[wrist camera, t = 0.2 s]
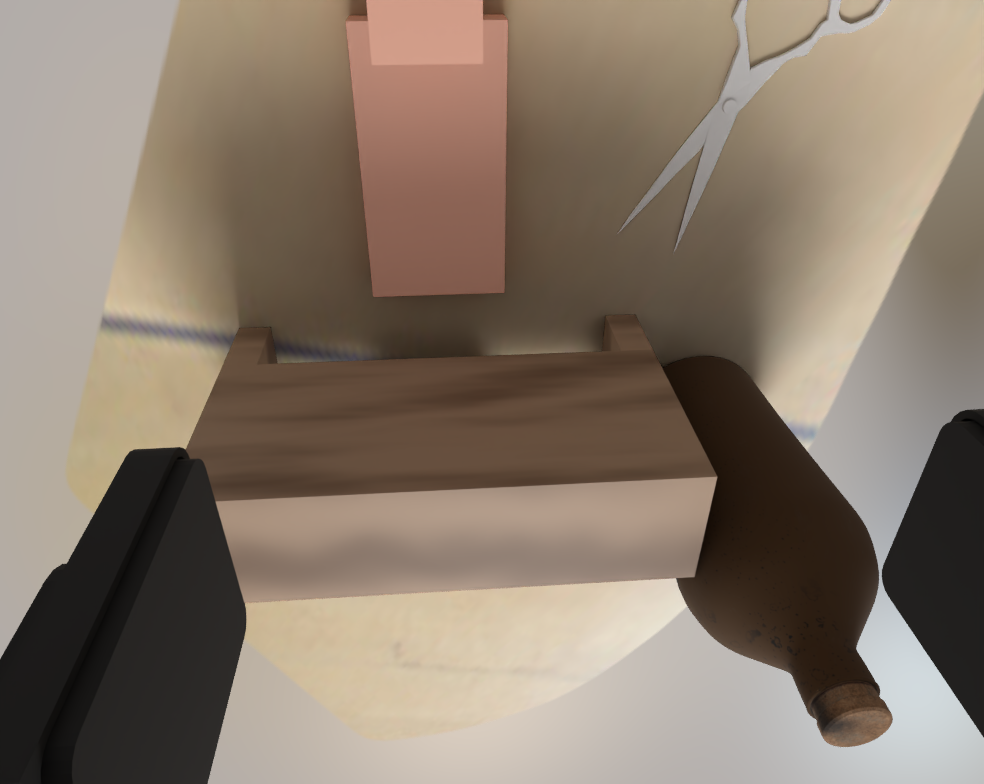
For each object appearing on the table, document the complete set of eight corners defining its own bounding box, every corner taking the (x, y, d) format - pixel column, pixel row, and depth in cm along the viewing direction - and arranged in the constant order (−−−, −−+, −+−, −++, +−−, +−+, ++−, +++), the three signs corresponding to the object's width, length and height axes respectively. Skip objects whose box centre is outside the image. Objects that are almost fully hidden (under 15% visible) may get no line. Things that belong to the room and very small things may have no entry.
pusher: (340, -77, 35) (298, -67, 24) (504, -77, 36) (542, -68, 24) (375, 281, 46) (358, 409, 34) (501, 277, 46) (526, 402, 35)
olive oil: (741, 322, 50) (967, 623, 29) (777, 431, 55) (988, 747, 34) (598, 385, 52) (713, 708, 31) (646, 483, 57) (771, 812, 36)
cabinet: (239, 328, 47) (161, 504, 33) (635, 314, 48) (717, 476, 35) (261, 427, 51) (200, 618, 38) (622, 411, 53) (691, 589, 39)
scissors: (926, -56, 37) (715, 277, 47) (918, -56, 38) (711, 272, 48) (760, -160, 34) (570, 218, 44) (753, -158, 35) (568, 214, 45)
